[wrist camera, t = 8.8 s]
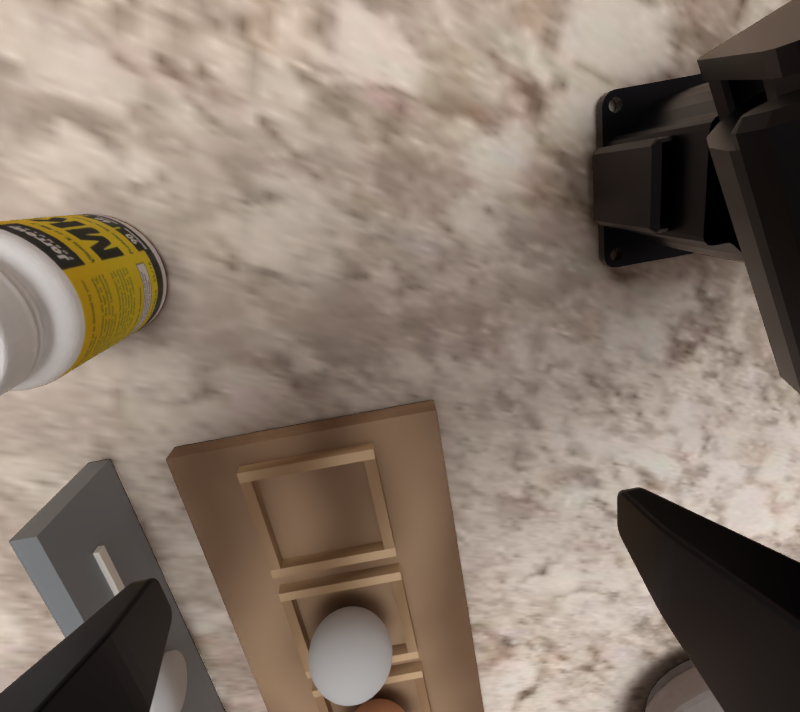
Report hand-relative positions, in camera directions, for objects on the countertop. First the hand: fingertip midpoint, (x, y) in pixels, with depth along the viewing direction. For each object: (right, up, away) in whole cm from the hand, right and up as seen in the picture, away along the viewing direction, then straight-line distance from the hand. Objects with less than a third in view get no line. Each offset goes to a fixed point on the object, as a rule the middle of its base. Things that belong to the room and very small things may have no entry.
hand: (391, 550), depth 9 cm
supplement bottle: (-11, +7, +10) cm, 17 cm away
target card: (-12, -11, +16) cm, 23 cm away
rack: (-2, -9, +16) cm, 19 cm away
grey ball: (-2, -10, +15) cm, 18 cm away
